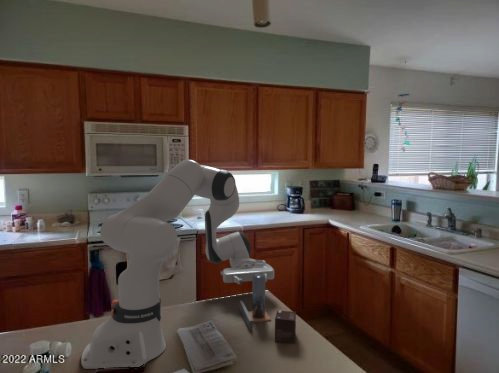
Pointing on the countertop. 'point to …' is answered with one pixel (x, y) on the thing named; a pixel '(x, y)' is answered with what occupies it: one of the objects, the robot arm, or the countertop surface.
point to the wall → (246, 315)
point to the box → (285, 326)
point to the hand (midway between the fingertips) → (252, 281)
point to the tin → (258, 296)
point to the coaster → (260, 318)
